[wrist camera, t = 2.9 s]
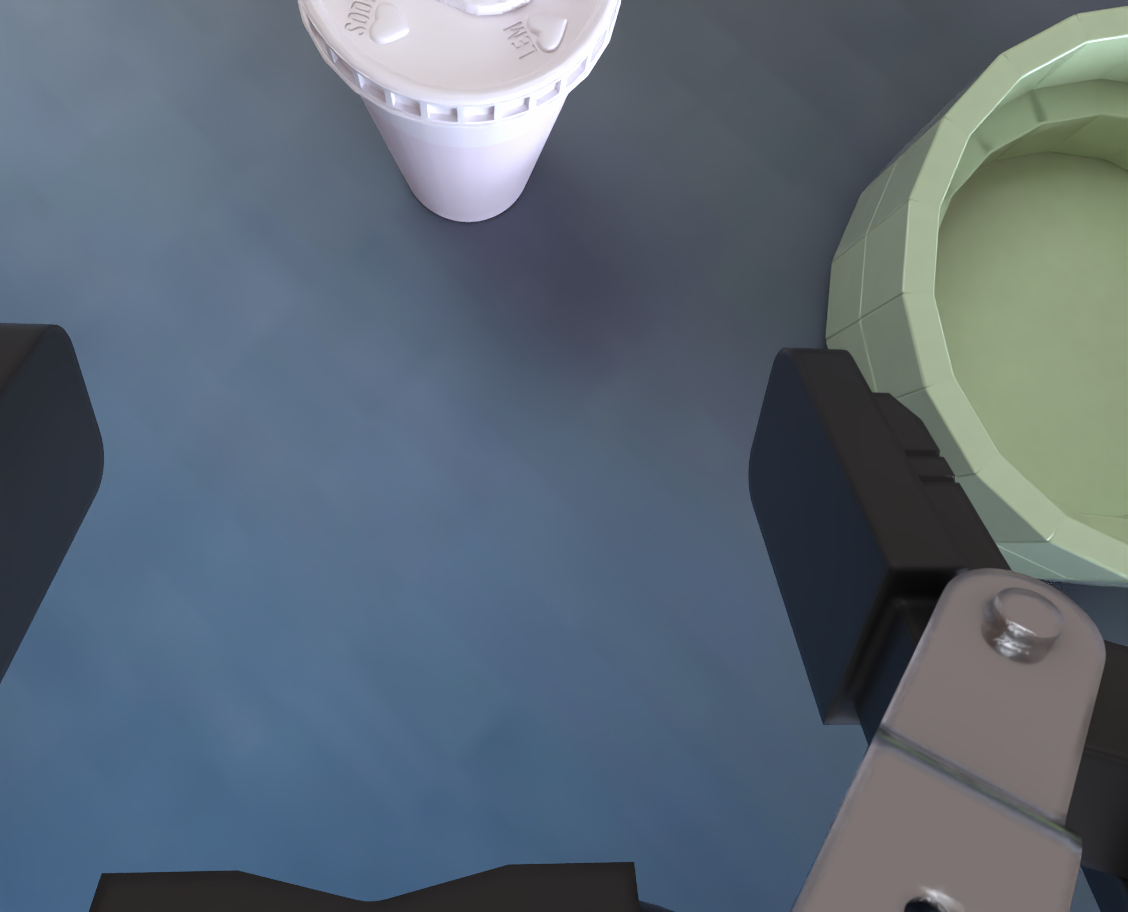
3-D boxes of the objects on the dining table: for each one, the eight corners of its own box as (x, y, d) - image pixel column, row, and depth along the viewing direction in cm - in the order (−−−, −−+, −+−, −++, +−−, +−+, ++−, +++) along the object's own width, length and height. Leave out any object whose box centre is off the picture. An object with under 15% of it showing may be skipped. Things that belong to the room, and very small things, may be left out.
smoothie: (588, 257, 27) (706, -58, 13) (365, 277, 26) (235, -32, 12) (562, 48, 27) (648, -471, 13) (343, 63, 27) (194, -467, 13)
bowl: (729, 240, 27) (792, 162, 22) (1119, 31, 29) (1266, -89, 24) (982, 674, 26) (1112, 707, 21) (1363, 432, 28) (1572, 404, 23)
